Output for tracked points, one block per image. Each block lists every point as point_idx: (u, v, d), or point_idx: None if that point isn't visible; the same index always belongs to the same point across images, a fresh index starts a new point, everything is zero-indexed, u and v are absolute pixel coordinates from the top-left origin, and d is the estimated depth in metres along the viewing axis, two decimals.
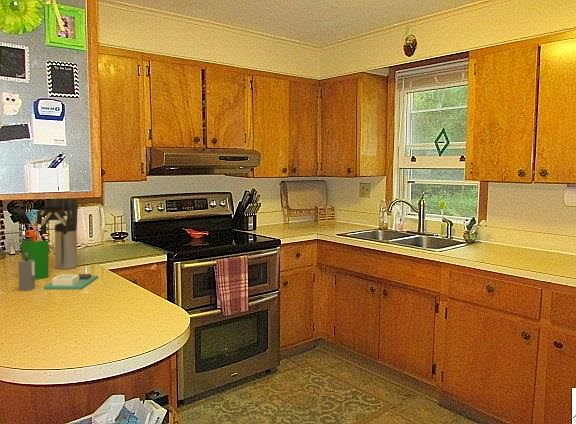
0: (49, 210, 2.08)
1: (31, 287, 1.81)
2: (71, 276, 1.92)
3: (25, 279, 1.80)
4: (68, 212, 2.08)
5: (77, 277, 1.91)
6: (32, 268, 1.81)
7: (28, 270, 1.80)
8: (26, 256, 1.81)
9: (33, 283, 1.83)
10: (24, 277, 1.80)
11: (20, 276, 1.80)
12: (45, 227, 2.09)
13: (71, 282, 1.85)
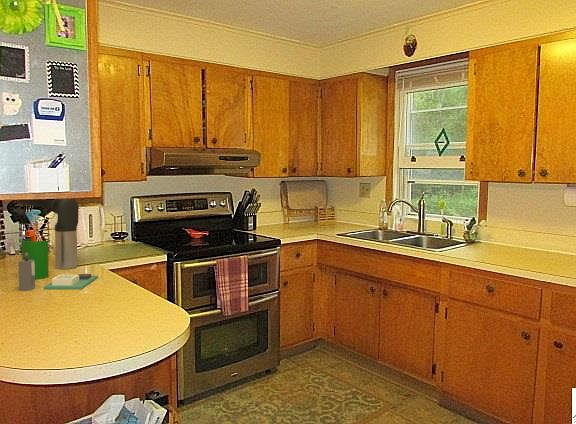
0: None
1: (31, 287, 1.81)
2: (71, 276, 1.92)
3: (25, 279, 1.80)
4: None
5: (77, 277, 1.91)
6: (32, 268, 1.81)
7: (28, 270, 1.80)
8: (26, 256, 1.81)
9: (33, 283, 1.83)
10: (24, 277, 1.80)
11: (20, 276, 1.80)
12: None
13: (71, 282, 1.85)
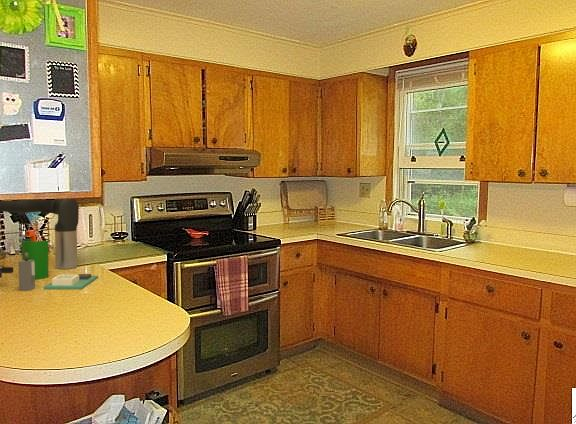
0: None
1: (31, 287, 1.81)
2: (71, 276, 1.92)
3: (25, 279, 1.80)
4: None
5: (77, 277, 1.91)
6: (32, 268, 1.81)
7: (28, 270, 1.80)
8: (26, 256, 1.81)
9: (33, 283, 1.83)
10: (24, 277, 1.80)
11: (20, 276, 1.80)
12: (4, 270, 1.85)
13: (71, 282, 1.85)
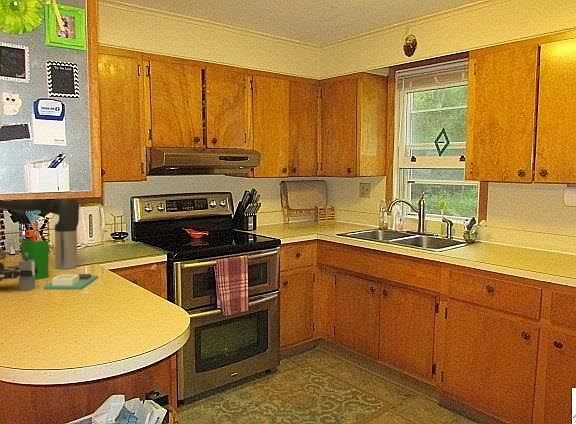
0: None
1: (31, 287, 1.81)
2: (71, 276, 1.92)
3: (25, 279, 1.80)
4: None
5: (77, 277, 1.91)
6: (32, 268, 1.81)
7: (28, 270, 1.80)
8: (26, 256, 1.81)
9: (33, 283, 1.83)
10: (24, 277, 1.80)
11: None
12: None
13: (71, 282, 1.85)
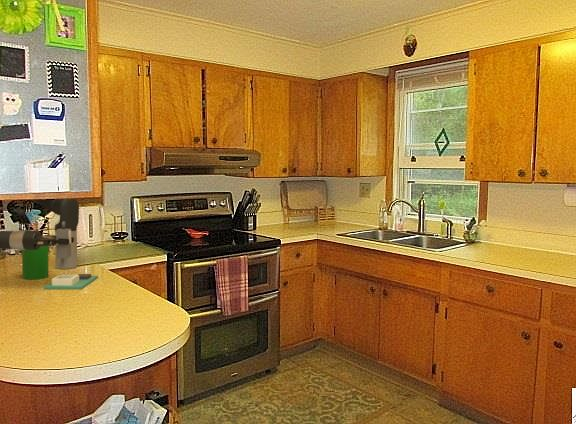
0: None
1: (68, 255, 1.87)
2: (71, 276, 1.92)
3: (63, 247, 1.86)
4: (40, 245, 1.81)
5: (77, 277, 1.91)
6: (69, 236, 1.87)
7: (65, 238, 1.85)
8: (63, 225, 1.86)
9: (70, 251, 1.89)
10: (61, 245, 1.86)
11: None
12: None
13: (71, 282, 1.85)
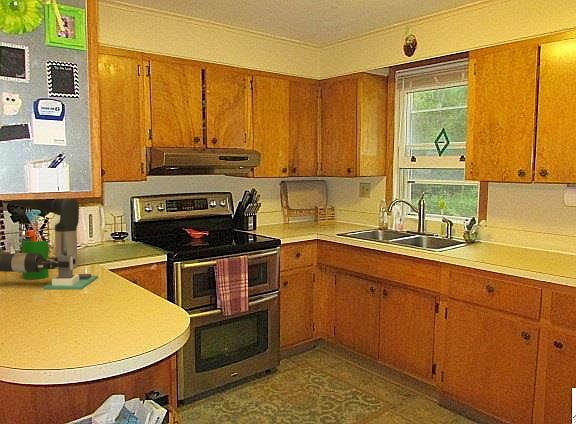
0: None
1: None
2: None
3: (65, 273, 1.87)
4: (40, 269, 1.82)
5: (77, 277, 1.91)
6: (71, 263, 1.88)
7: None
8: (65, 251, 1.87)
9: (71, 277, 1.90)
10: (63, 271, 1.87)
11: (59, 270, 1.86)
12: None
13: (71, 282, 1.85)
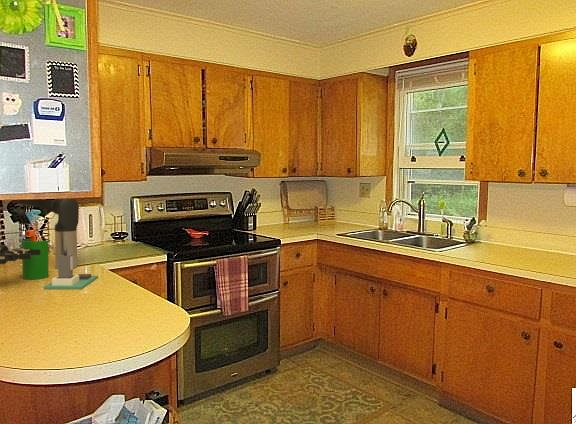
0: None
1: None
2: None
3: (65, 273, 1.87)
4: (2, 260, 1.81)
5: (77, 277, 1.91)
6: (71, 263, 1.88)
7: (67, 265, 1.87)
8: (65, 251, 1.88)
9: (71, 277, 1.90)
10: (63, 271, 1.87)
11: (59, 270, 1.86)
12: (32, 252, 1.91)
13: (71, 282, 1.85)
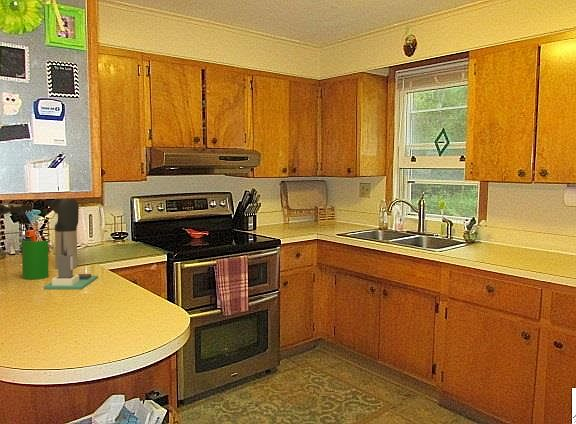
0: None
1: None
2: None
3: (65, 273, 1.87)
4: None
5: (77, 277, 1.91)
6: (71, 263, 1.88)
7: (67, 265, 1.87)
8: (65, 251, 1.88)
9: (71, 277, 1.90)
10: (63, 271, 1.87)
11: (59, 270, 1.86)
12: (23, 208, 1.89)
13: (71, 282, 1.85)
